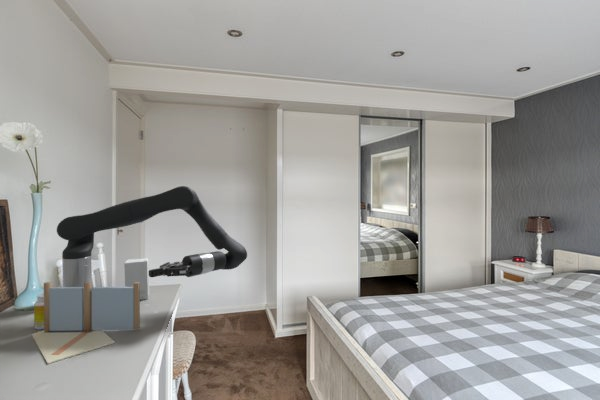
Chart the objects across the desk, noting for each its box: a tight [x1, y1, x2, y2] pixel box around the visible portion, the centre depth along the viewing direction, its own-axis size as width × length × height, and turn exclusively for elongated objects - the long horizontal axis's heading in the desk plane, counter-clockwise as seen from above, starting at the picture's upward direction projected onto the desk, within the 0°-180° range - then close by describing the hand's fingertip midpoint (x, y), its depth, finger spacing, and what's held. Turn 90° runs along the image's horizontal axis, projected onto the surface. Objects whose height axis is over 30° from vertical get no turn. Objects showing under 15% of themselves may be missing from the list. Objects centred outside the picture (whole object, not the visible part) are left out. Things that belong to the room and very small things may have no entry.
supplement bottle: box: [33, 292, 44, 330], centre depth 99 cm, size 6×6×10 cm
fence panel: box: [91, 282, 141, 331], centre depth 96 cm, size 14×1×14 cm, turn 93°
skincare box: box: [123, 257, 150, 301], centre depth 125 cm, size 8×7×16 cm
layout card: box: [31, 329, 115, 365], centre depth 91 cm, size 23×15×1 cm, turn 48°
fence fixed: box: [43, 281, 93, 333], centre depth 95 cm, size 14×2×15 cm, turn 94°
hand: (149, 273), depth 100 cm, fingers closed
